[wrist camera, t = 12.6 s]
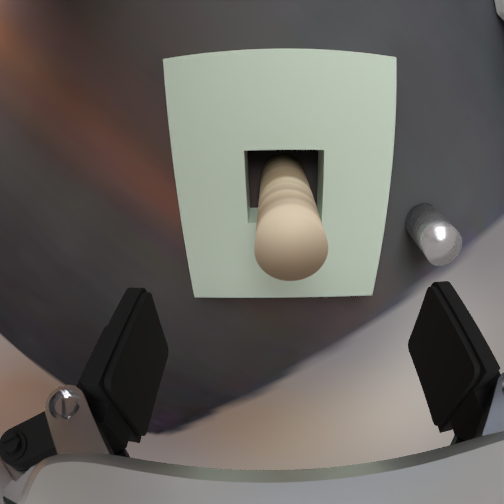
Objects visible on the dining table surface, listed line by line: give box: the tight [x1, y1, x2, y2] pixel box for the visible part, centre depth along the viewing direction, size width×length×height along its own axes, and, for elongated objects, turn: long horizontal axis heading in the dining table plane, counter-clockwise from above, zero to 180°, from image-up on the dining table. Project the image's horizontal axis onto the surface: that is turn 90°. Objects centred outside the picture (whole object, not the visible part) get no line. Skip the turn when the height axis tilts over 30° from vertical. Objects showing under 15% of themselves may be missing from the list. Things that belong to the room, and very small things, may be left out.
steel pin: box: [405, 203, 462, 266], centre depth 24 cm, size 4×4×5 cm
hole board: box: [163, 49, 396, 298], centre depth 24 cm, size 20×16×3 cm
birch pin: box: [254, 155, 328, 281], centre depth 20 cm, size 4×4×12 cm
